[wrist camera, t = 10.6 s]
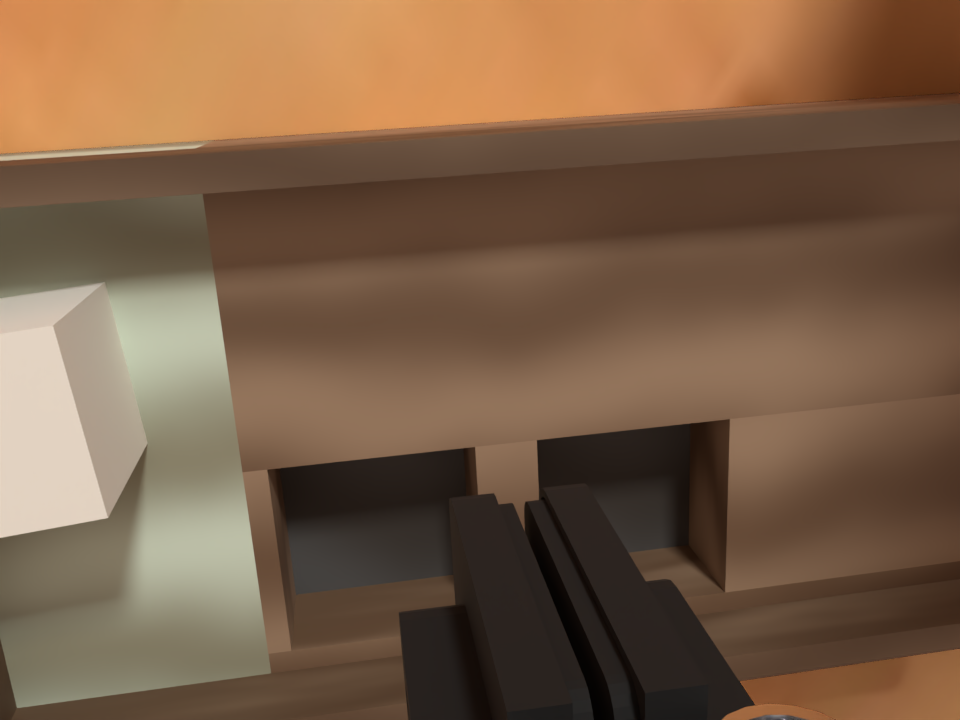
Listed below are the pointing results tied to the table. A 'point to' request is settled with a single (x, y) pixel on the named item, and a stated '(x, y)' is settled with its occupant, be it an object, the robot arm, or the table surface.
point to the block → (63, 410)
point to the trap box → (497, 390)
